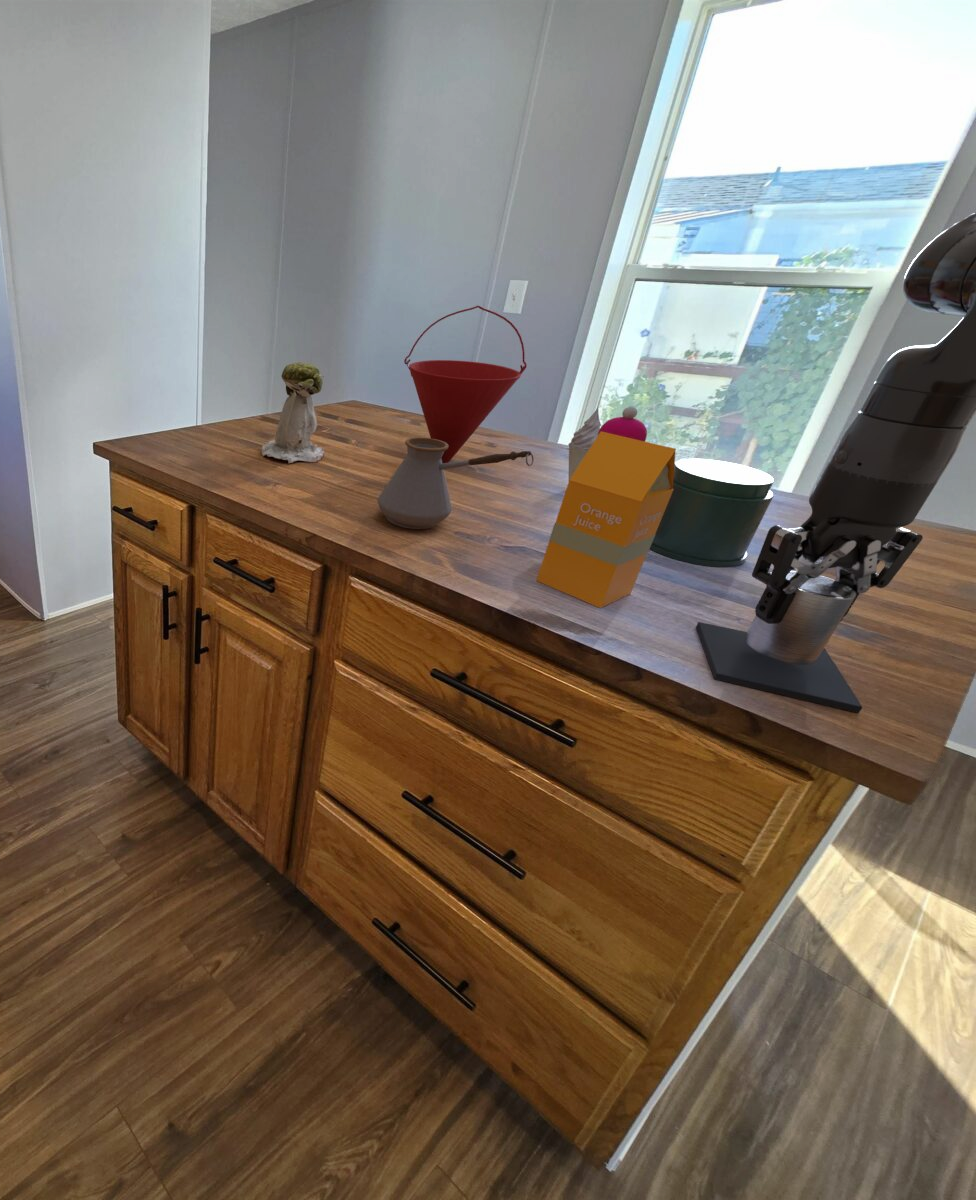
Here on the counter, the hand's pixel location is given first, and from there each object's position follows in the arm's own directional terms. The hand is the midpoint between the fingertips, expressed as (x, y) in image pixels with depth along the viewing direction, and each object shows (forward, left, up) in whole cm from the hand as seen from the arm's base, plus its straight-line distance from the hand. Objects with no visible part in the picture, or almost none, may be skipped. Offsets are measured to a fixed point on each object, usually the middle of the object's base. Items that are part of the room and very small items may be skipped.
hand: (796, 619), depth 69 cm
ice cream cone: (+19, -54, -6) cm, 58 cm away
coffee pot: (+38, -22, -6) cm, 44 cm away
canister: (+3, -34, -6) cm, 35 cm away
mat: (0, 0, -6) cm, 6 cm away
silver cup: (0, 0, -4) cm, 4 cm away
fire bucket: (+42, -55, -6) cm, 70 cm away
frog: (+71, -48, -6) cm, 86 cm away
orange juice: (+18, -11, -6) cm, 22 cm away
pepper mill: (+17, -31, -6) cm, 36 cm away
